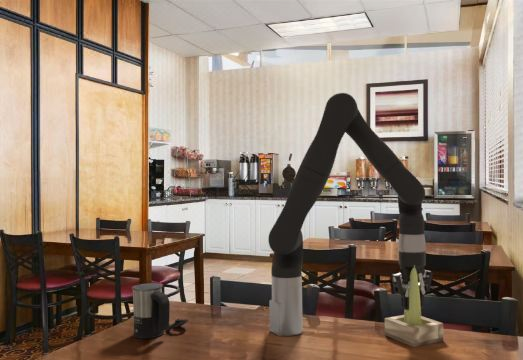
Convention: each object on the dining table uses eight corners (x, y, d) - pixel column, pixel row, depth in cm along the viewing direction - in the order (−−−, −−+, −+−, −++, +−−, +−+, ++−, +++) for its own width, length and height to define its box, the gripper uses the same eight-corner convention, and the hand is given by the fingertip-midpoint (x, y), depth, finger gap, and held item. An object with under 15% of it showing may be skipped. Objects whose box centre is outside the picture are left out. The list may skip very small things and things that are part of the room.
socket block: (413, 347, 136) (413, 329, 136) (384, 335, 147) (384, 318, 147) (443, 340, 141) (443, 323, 141) (413, 329, 152) (413, 313, 152)
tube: (427, 330, 143) (426, 263, 143) (415, 334, 140) (414, 264, 140) (411, 326, 148) (410, 260, 148) (399, 329, 145) (398, 262, 145)
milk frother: (126, 337, 150) (125, 287, 149) (157, 322, 164) (156, 278, 164) (165, 342, 144) (164, 291, 144) (194, 327, 158) (193, 280, 158)
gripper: (421, 246, 150) (422, 302, 151) (383, 249, 144) (384, 308, 144) (440, 249, 144) (440, 307, 144) (401, 252, 137) (402, 314, 138)
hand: (412, 307), depth 144 cm, fingers closed on tube, 4 cm apart
